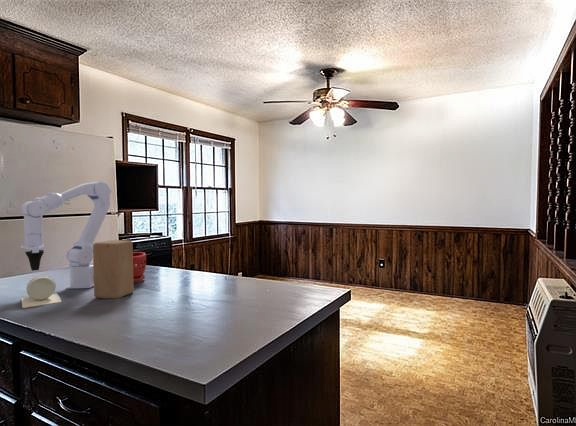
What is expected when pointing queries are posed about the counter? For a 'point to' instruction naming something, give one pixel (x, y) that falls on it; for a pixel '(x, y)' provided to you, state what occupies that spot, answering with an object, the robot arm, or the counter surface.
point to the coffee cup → (41, 287)
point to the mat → (40, 301)
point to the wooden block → (113, 268)
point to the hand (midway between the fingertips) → (35, 270)
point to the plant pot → (138, 266)
